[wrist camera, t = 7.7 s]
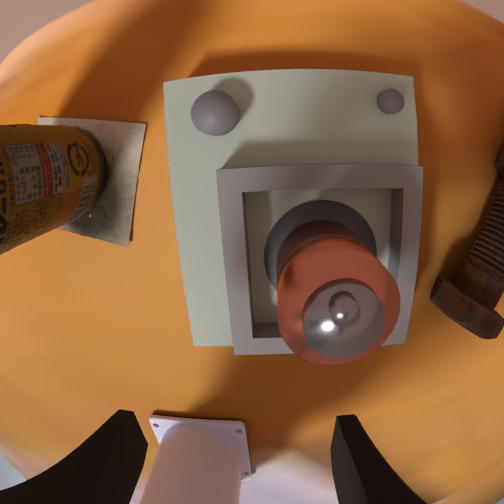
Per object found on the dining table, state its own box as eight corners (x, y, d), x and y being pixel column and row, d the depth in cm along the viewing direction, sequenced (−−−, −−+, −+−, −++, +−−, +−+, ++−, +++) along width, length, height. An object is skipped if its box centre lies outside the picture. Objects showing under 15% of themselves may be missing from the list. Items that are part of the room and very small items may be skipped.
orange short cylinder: (368, 293, 15) (412, 369, 9) (286, 312, 16) (292, 399, 10) (356, 210, 14) (411, 253, 8) (266, 231, 15) (262, 289, 9)
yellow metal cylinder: (39, 117, 16) (-110, 124, 4) (147, 124, 16) (-23, 109, 5) (31, 220, 18) (-100, 284, 7) (130, 245, 18) (-5, 358, 7)
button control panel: (389, 314, 19) (411, 349, 15) (202, 323, 20) (188, 361, 16) (394, 84, 14) (426, 70, 10) (177, 90, 15) (152, 75, 11)
